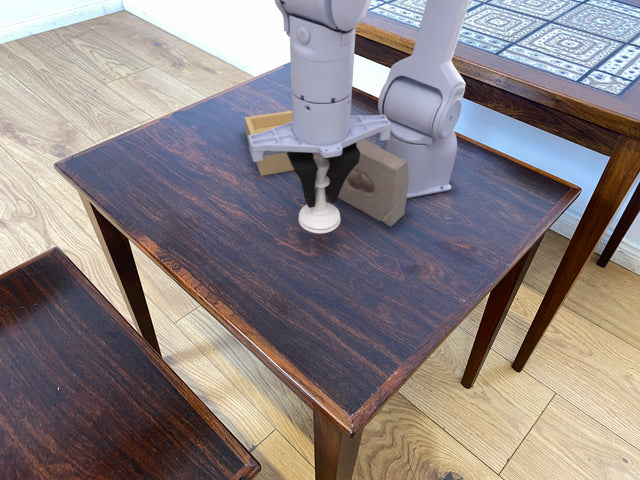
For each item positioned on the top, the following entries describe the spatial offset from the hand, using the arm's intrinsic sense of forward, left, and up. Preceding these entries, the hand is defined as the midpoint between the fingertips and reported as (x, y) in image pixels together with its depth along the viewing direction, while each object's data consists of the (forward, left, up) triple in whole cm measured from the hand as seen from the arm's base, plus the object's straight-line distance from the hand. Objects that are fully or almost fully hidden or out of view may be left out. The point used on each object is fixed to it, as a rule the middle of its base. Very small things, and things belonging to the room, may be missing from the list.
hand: (319, 199), depth 57 cm
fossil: (-9, -9, -10) cm, 16 cm away
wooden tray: (-4, -25, -10) cm, 27 cm away
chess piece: (0, 0, -3) cm, 3 cm away
